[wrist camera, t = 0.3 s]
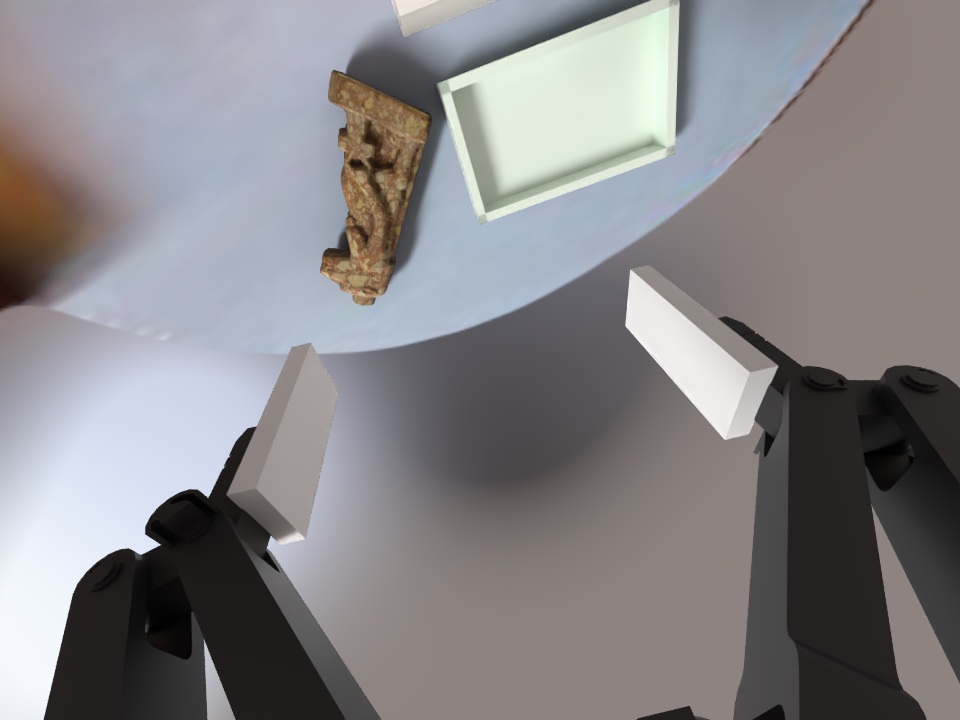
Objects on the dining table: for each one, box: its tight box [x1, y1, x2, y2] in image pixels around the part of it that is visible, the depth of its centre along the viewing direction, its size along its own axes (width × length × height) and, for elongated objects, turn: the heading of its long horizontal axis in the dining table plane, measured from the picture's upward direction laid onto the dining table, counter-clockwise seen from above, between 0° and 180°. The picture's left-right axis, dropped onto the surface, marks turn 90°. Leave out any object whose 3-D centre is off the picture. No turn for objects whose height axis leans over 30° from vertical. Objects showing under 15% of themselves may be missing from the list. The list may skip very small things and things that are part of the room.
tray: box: [436, 0, 680, 224], centre depth 33 cm, size 12×20×3 cm, turn 107°
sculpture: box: [320, 70, 432, 305], centre depth 35 cm, size 8×19×5 cm, turn 158°
